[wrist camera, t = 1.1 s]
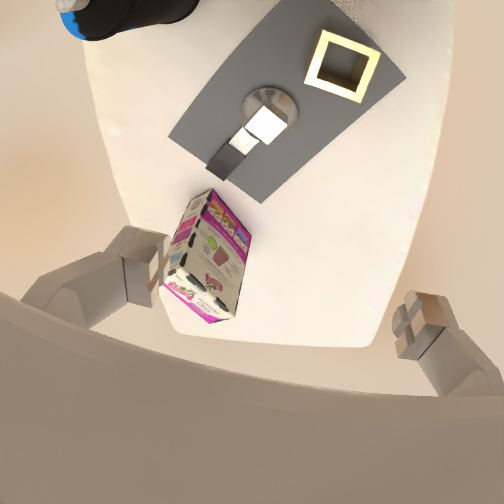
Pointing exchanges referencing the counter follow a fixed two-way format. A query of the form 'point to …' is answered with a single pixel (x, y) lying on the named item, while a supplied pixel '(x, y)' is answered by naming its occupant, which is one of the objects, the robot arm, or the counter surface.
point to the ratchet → (256, 127)
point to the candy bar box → (208, 258)
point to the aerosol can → (119, 15)
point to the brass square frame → (332, 83)
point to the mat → (290, 80)
